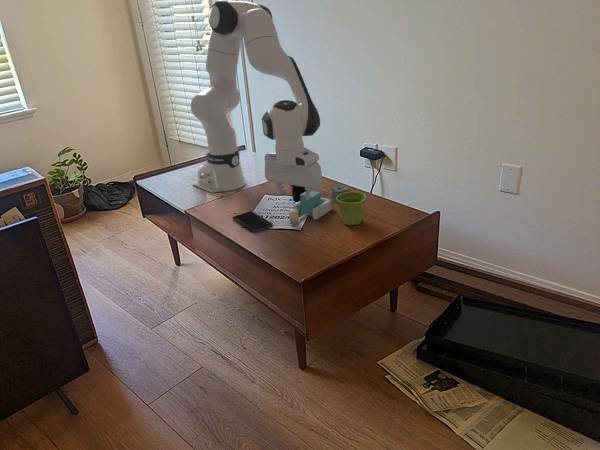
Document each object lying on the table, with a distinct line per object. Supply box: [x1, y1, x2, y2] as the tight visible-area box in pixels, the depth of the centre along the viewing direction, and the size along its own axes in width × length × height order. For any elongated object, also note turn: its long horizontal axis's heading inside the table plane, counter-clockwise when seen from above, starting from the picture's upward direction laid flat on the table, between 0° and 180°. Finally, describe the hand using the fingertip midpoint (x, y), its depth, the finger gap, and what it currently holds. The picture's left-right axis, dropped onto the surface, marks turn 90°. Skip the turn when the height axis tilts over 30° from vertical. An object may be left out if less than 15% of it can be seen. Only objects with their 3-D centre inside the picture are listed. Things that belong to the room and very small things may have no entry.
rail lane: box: [292, 197, 333, 220], centre depth 167 cm, size 9×10×4 cm
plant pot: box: [336, 191, 367, 226], centre depth 156 cm, size 9×9×9 cm
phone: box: [232, 210, 274, 234], centre depth 163 cm, size 8×1×15 cm
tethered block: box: [288, 190, 322, 226], centre depth 162 cm, size 5×14×7 cm, turn 144°
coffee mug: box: [289, 185, 307, 203], centre depth 177 cm, size 12×9×10 cm
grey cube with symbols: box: [330, 184, 351, 206], centre depth 173 cm, size 5×5×5 cm
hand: (294, 196), depth 156 cm, fingers open, 8 cm apart
